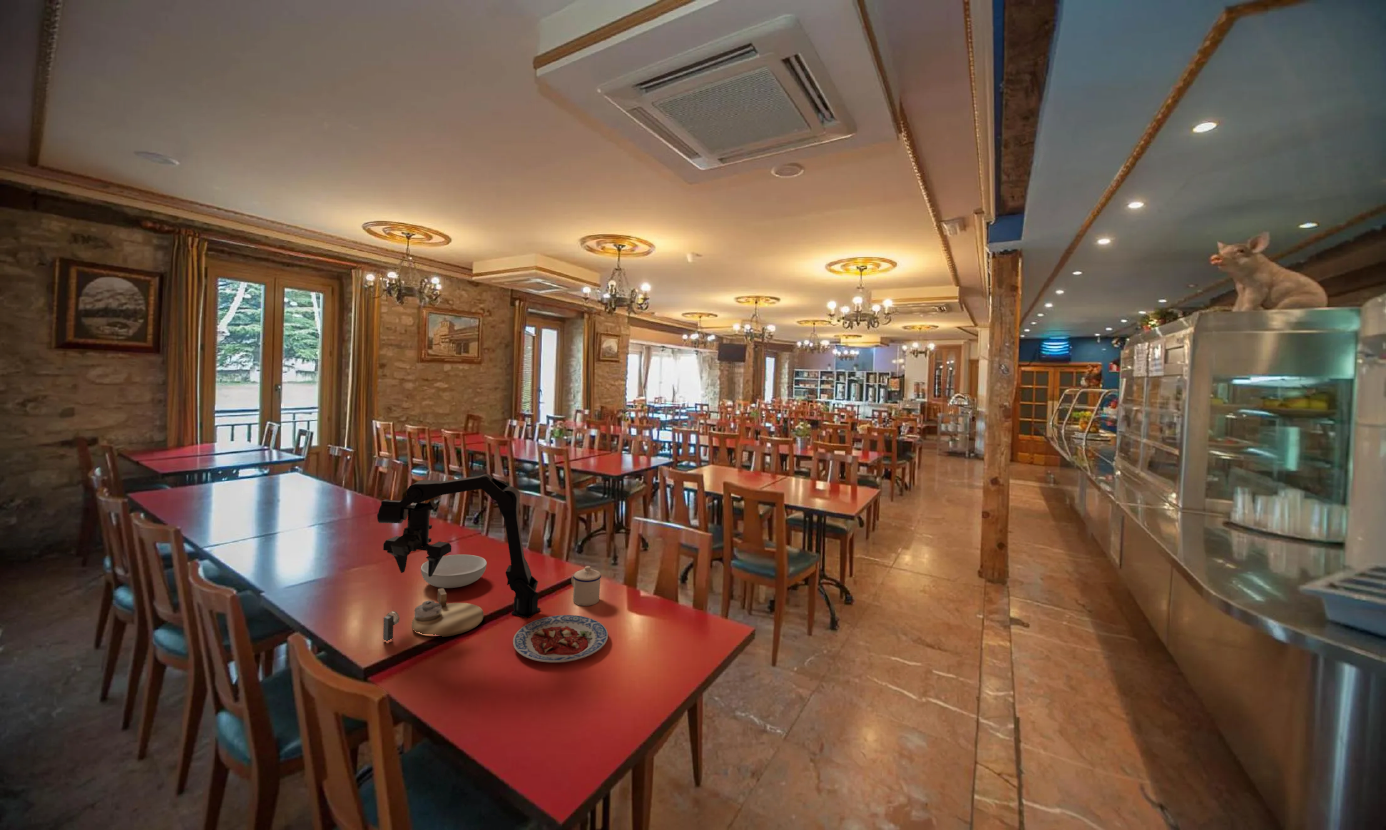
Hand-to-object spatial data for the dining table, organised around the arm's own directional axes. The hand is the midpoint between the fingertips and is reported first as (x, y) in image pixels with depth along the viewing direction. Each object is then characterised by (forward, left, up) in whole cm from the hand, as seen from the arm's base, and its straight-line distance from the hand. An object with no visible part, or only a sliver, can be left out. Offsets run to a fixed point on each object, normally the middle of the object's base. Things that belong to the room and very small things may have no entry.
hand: (416, 574), depth 151 cm
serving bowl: (+8, -24, -13) cm, 28 cm away
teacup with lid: (-39, -32, -13) cm, 52 cm away
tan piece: (-12, -1, -13) cm, 17 cm away
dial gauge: (-6, +14, -13) cm, 20 cm away
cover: (-6, +1, -11) cm, 13 cm away
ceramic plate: (-48, -5, -13) cm, 50 cm away
